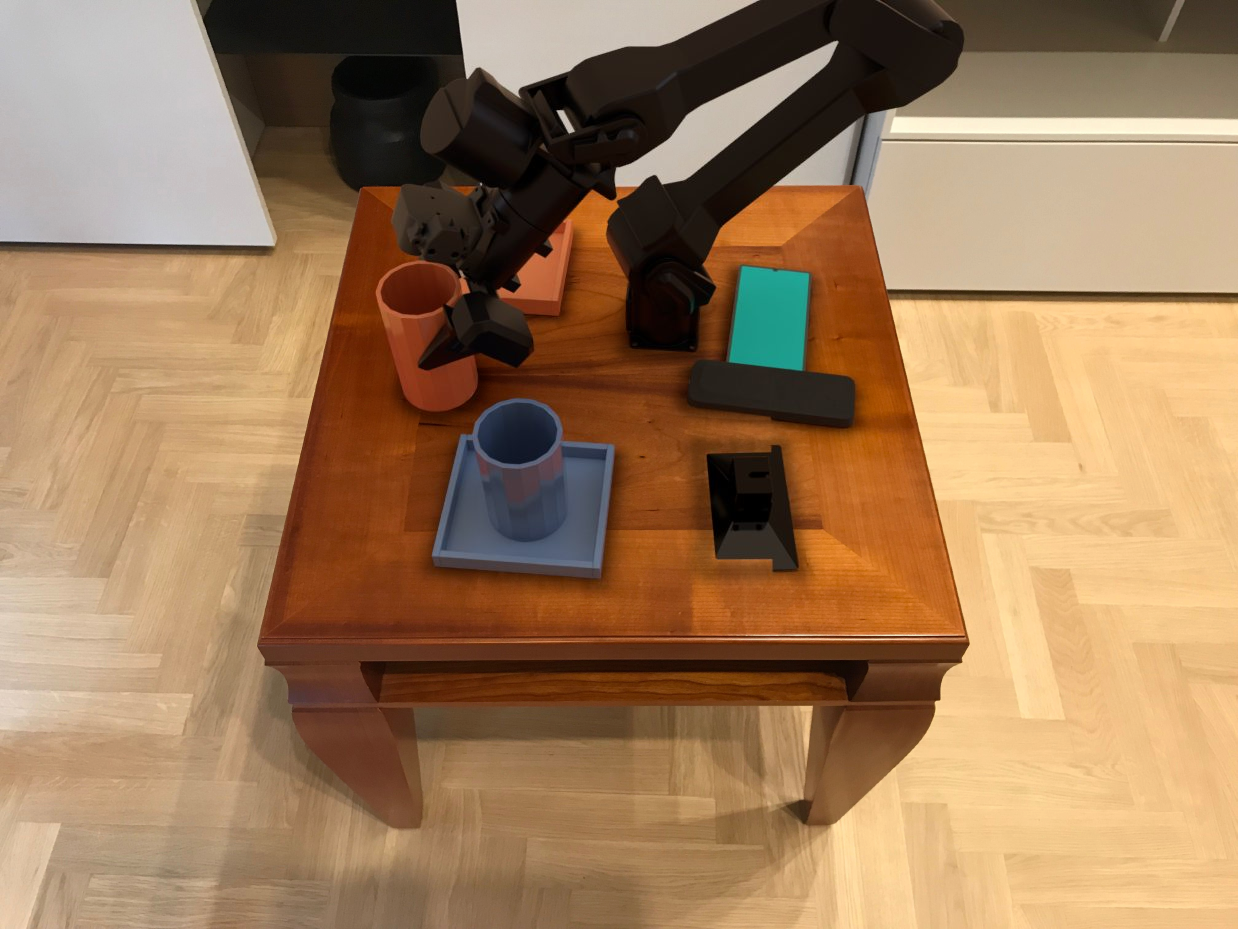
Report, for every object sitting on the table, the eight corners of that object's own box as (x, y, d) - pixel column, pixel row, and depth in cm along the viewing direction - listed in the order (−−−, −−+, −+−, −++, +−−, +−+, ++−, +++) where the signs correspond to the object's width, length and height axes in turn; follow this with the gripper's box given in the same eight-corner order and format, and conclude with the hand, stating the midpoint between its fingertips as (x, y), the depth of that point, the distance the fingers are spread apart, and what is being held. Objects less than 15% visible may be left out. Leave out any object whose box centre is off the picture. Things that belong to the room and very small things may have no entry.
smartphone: (724, 373, 86) (739, 263, 95) (723, 379, 87) (738, 270, 95) (805, 383, 85) (813, 271, 94) (804, 389, 86) (811, 278, 95)
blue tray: (614, 458, 82) (614, 444, 80) (600, 581, 74) (600, 568, 73) (463, 447, 82) (460, 433, 81) (435, 569, 75) (431, 555, 73)
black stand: (798, 572, 75) (807, 541, 71) (706, 573, 75) (710, 543, 71) (780, 447, 82) (787, 413, 78) (696, 448, 82) (699, 414, 78)
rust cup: (484, 361, 88) (467, 262, 79) (471, 417, 84) (451, 320, 75) (412, 356, 89) (387, 258, 79) (396, 412, 85) (367, 315, 75)
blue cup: (572, 478, 80) (567, 401, 72) (563, 544, 76) (555, 471, 68) (495, 472, 80) (481, 395, 72) (481, 538, 76) (465, 464, 68)
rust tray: (573, 234, 99) (572, 218, 98) (558, 316, 92) (557, 300, 90) (449, 227, 100) (446, 211, 98) (425, 307, 93) (421, 292, 91)
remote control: (853, 388, 86) (690, 365, 87) (858, 376, 85) (692, 353, 86) (852, 432, 84) (684, 408, 85) (856, 421, 82) (686, 396, 83)
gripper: (418, 90, 74) (313, 232, 81) (475, 239, 63) (348, 388, 70) (524, 156, 82) (420, 281, 88) (590, 299, 71) (466, 428, 78)
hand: (413, 338), depth 81 cm, fingers closed on rust cup, 7 cm apart
